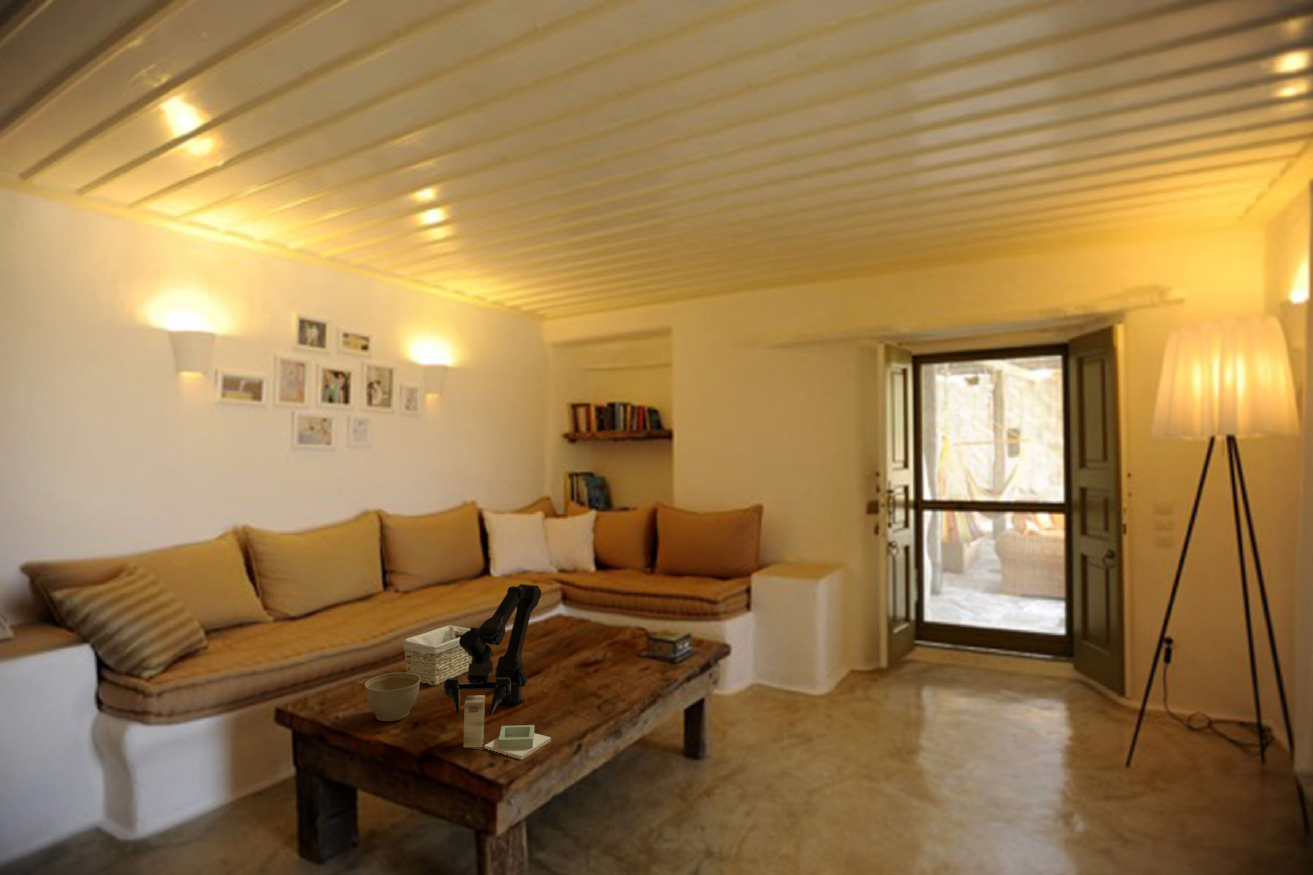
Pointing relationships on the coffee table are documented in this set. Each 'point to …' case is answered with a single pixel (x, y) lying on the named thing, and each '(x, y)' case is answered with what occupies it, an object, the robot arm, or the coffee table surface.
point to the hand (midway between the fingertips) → (474, 714)
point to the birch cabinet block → (474, 721)
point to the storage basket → (436, 655)
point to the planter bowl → (392, 695)
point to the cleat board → (515, 751)
